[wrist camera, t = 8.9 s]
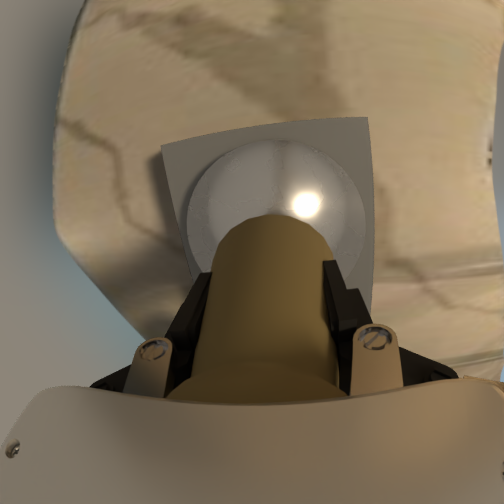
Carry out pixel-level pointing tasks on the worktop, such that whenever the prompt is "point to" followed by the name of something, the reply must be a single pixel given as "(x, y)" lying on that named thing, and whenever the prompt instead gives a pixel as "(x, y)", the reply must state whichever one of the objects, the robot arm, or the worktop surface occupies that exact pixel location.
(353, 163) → the scale
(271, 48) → the worktop surface
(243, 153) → the scale pan
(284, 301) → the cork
